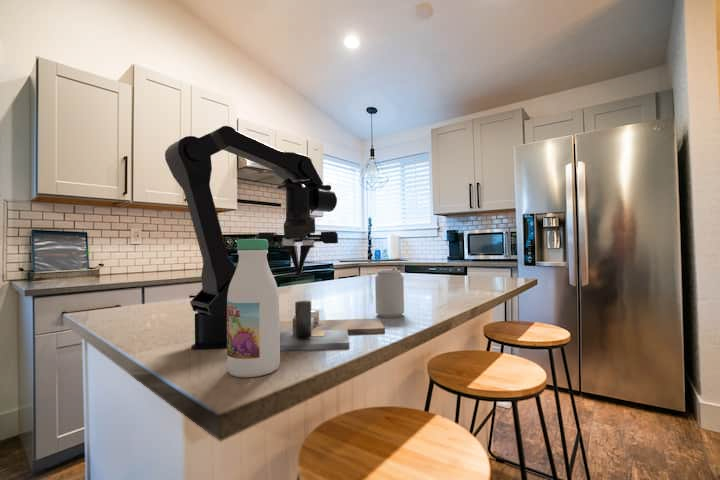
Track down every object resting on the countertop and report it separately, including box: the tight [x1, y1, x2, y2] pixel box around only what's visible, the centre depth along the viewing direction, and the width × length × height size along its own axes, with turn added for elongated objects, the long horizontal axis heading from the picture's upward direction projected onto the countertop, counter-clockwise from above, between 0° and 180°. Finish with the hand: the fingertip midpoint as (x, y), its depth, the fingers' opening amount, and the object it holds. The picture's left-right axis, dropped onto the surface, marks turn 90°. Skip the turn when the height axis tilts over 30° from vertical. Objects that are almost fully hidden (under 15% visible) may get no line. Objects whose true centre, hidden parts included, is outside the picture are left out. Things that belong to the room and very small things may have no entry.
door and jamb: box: [279, 315, 386, 352], centre depth 73 cm, size 24×20×4 cm
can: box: [374, 269, 405, 319], centre depth 92 cm, size 8×8×12 cm
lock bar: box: [294, 300, 320, 338], centre depth 73 cm, size 15×4×6 cm, turn 1°
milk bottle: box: [226, 238, 281, 378], centre depth 53 cm, size 8×8×20 cm
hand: (299, 274), depth 82 cm, fingers closed
